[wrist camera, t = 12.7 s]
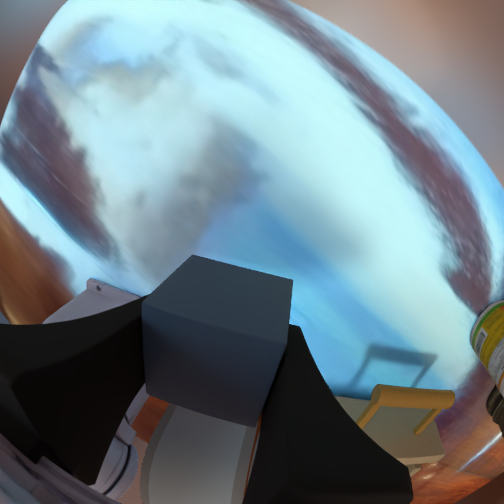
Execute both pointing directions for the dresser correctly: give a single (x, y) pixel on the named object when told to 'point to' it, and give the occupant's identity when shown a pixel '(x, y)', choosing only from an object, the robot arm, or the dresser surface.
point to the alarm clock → (197, 459)
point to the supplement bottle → (491, 341)
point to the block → (216, 338)
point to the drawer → (402, 421)
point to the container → (496, 408)
